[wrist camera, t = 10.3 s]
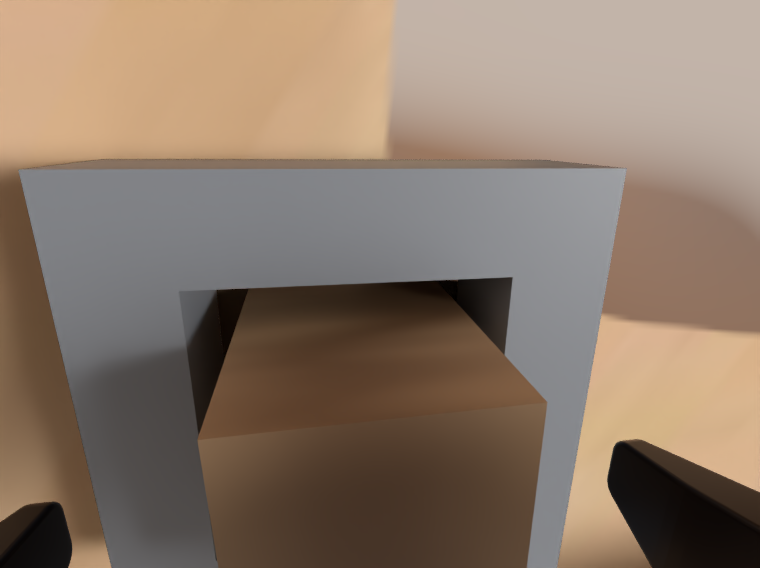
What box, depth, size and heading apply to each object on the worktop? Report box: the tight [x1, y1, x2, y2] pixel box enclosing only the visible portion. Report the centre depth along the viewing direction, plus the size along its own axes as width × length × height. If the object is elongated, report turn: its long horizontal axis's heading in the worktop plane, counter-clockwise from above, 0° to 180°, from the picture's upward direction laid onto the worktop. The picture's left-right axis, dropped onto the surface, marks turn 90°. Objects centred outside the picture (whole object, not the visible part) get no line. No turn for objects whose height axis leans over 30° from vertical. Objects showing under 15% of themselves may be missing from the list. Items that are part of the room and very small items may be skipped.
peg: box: [197, 280, 548, 568], centre depth 9 cm, size 4×4×6 cm
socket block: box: [18, 159, 626, 568], centre depth 10 cm, size 10×10×3 cm
